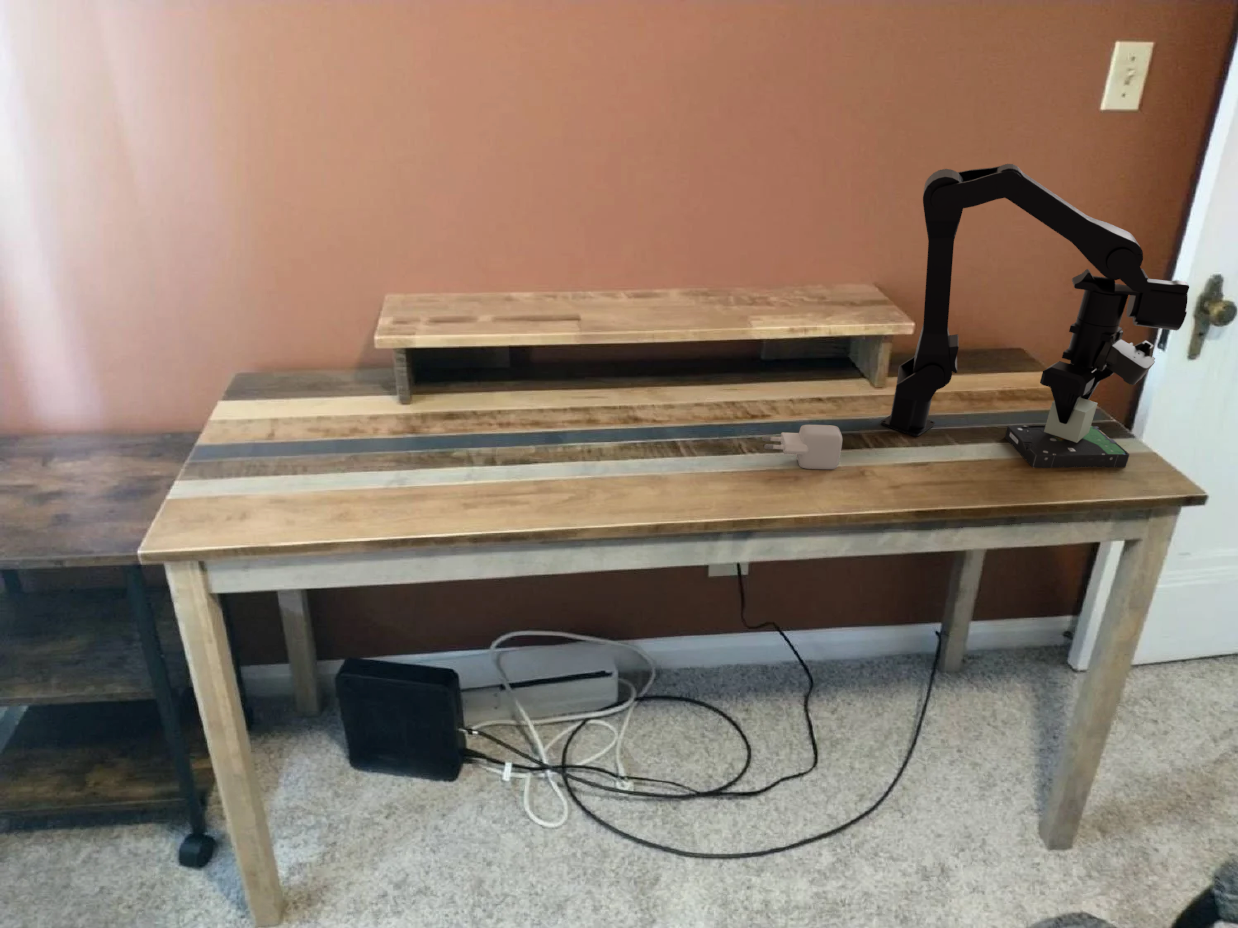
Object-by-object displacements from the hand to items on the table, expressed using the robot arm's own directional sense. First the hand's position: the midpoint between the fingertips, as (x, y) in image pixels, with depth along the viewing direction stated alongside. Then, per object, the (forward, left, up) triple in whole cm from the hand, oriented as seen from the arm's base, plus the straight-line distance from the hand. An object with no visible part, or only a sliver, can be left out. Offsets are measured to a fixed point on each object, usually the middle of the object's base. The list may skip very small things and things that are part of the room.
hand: (1070, 417), depth 148 cm
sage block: (0, 0, -2) cm, 2 cm away
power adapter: (-34, +26, -6) cm, 43 cm away
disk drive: (0, -1, -6) cm, 6 cm away
